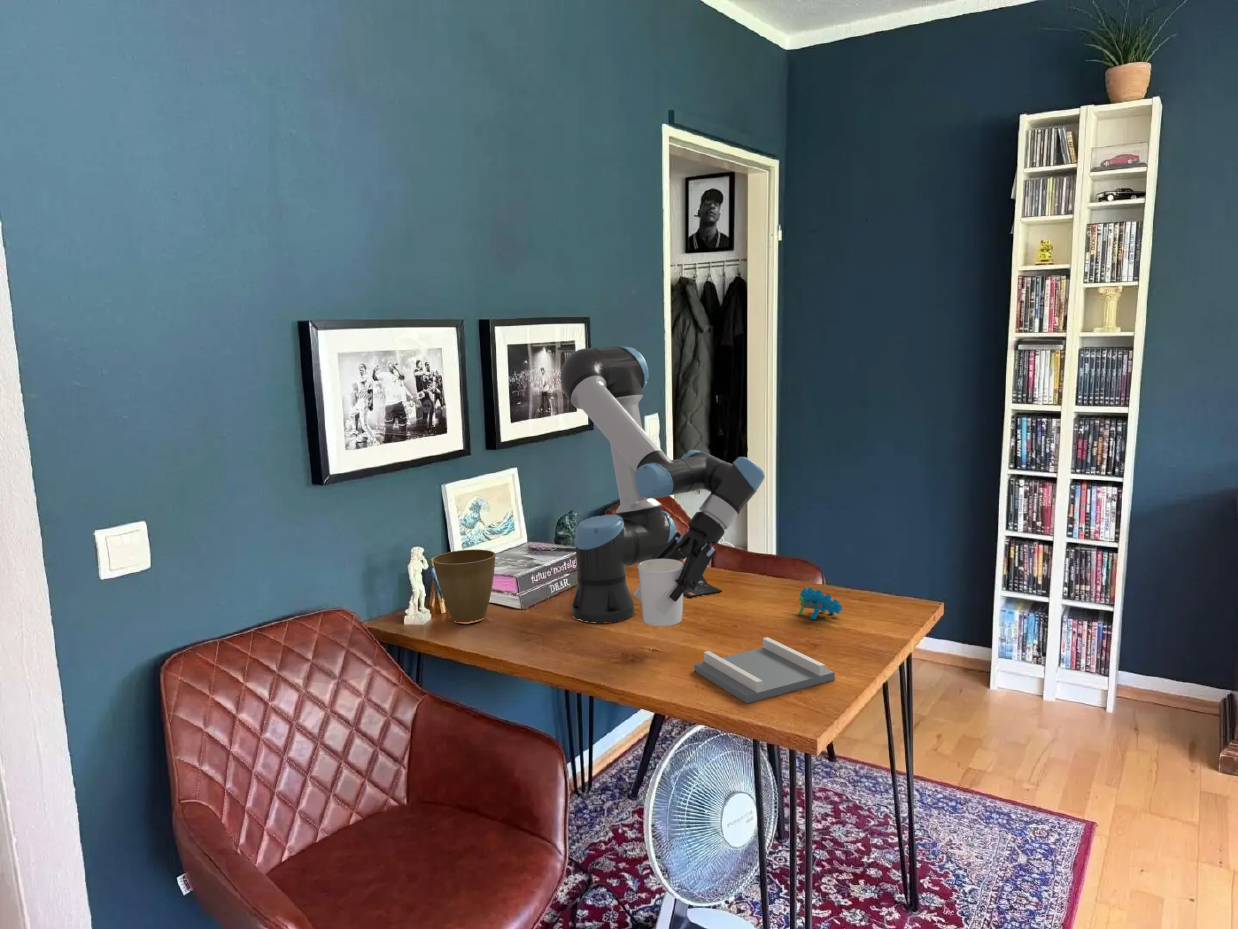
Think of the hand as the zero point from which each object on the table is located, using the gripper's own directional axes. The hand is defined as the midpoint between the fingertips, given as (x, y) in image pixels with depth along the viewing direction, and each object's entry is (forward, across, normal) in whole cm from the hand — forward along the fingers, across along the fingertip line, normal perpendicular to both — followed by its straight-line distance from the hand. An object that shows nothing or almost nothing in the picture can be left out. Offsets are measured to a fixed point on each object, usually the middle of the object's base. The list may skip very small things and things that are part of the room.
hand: (648, 604), depth 180 cm
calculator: (-14, +33, -30) cm, 47 cm away
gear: (-24, -1, -39) cm, 45 cm away
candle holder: (+1, 0, -5) cm, 5 cm away
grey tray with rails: (-2, -23, -16) cm, 28 cm away
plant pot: (+27, +43, +11) cm, 52 cm away
